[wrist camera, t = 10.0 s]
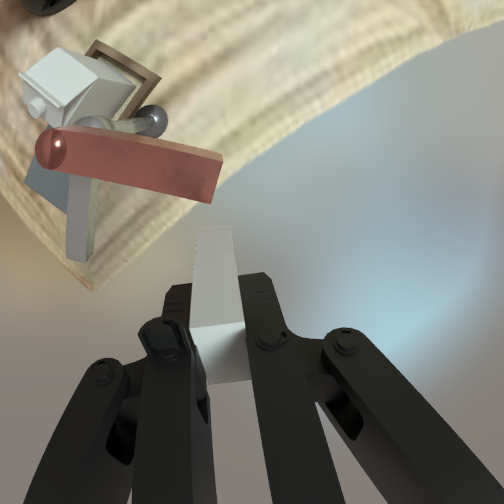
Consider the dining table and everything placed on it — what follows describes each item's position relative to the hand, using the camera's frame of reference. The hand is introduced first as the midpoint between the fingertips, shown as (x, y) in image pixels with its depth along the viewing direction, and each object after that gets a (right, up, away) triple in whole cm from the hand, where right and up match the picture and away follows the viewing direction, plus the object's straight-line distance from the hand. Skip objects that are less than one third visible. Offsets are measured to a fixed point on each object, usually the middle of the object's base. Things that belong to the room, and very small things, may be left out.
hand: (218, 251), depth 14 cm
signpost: (-10, +14, +25) cm, 30 cm away
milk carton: (-20, +24, +20) cm, 37 cm away
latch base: (-13, +19, +23) cm, 32 cm away
